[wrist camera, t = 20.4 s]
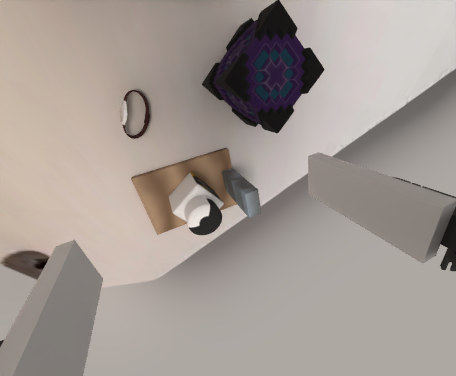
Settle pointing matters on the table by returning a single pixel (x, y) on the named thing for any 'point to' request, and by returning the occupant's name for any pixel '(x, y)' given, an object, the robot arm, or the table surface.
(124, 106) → the watch
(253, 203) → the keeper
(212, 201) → the medicine bottle
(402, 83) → the table surface
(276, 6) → the energy cube
